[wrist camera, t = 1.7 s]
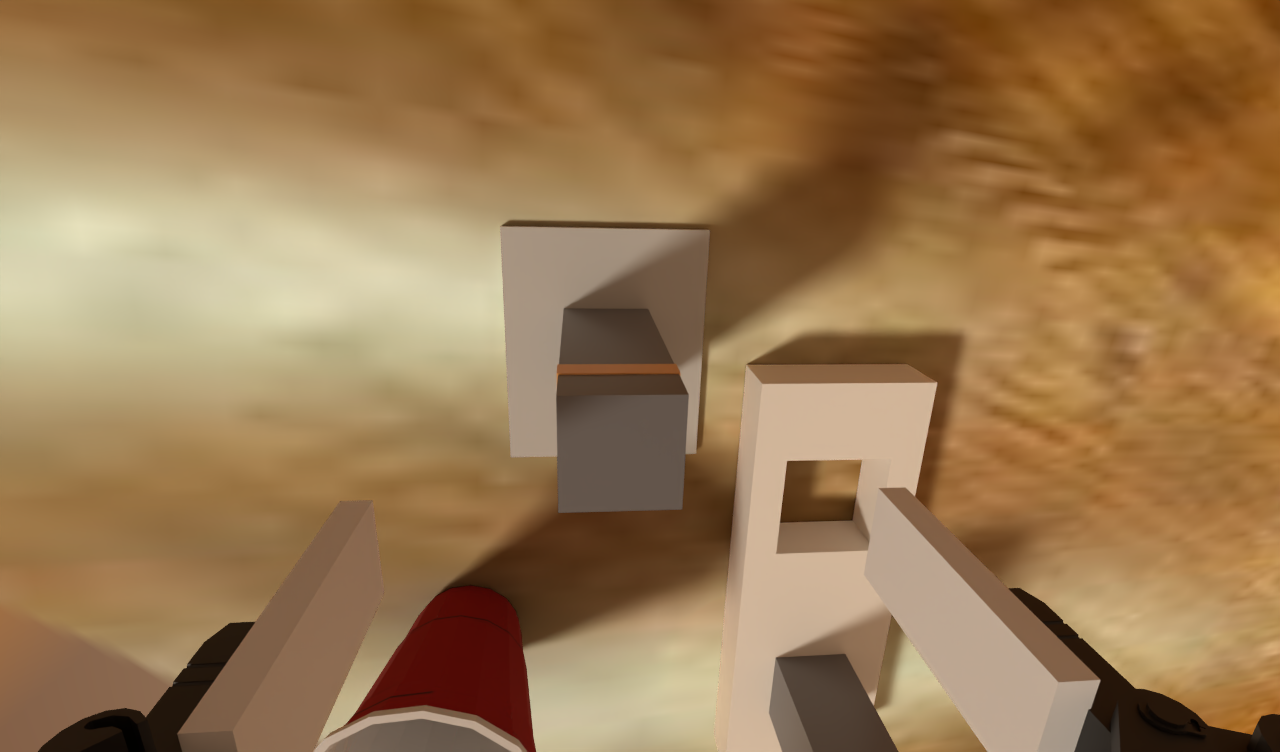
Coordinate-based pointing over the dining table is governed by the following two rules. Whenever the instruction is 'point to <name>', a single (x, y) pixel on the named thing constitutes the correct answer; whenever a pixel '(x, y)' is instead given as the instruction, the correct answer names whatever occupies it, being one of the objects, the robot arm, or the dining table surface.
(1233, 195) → the dining table surface
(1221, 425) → the dining table surface
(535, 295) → the white flat slab
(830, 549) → the socket stand
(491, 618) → the plastic cup
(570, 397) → the plug
